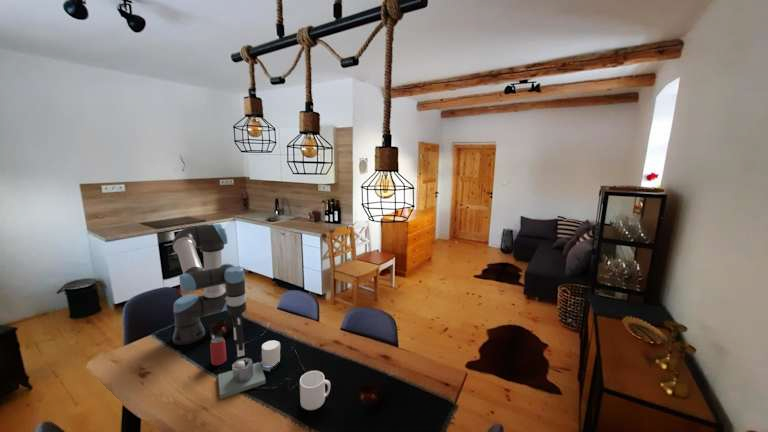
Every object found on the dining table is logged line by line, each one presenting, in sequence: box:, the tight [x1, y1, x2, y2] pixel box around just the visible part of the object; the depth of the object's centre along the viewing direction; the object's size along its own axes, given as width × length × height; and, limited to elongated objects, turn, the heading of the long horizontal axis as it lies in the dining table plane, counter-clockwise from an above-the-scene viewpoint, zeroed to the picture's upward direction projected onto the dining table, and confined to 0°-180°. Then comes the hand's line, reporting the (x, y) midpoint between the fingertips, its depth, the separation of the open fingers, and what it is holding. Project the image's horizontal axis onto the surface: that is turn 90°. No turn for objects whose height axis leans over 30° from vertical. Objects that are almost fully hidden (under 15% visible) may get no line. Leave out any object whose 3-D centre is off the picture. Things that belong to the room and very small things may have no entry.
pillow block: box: [217, 361, 267, 400], centre depth 135 cm, size 14×18×9 cm
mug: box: [299, 370, 332, 411], centre depth 125 cm, size 13×10×10 cm
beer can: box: [209, 336, 227, 366], centre depth 148 cm, size 7×7×12 cm
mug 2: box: [261, 339, 281, 366], centre depth 150 cm, size 12×9×8 cm
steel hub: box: [231, 357, 254, 383], centre depth 136 cm, size 8×8×6 cm
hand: (239, 347), depth 134 cm, fingers open, 13 cm apart
